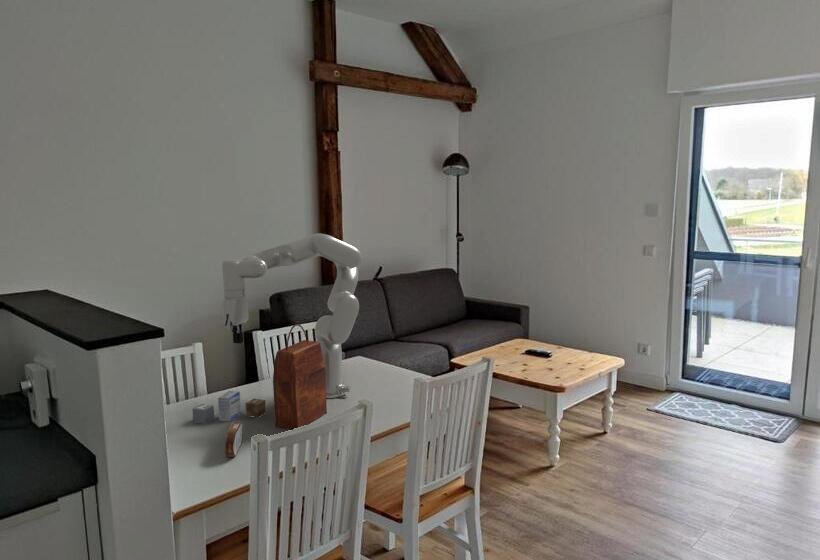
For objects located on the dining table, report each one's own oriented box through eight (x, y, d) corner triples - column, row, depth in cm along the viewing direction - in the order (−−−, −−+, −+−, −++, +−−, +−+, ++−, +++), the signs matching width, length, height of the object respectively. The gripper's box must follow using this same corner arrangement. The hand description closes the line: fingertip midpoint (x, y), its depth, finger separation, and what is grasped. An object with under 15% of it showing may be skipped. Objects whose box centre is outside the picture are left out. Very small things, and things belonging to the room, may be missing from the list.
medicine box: (230, 422, 206) (229, 398, 205) (218, 421, 207) (217, 397, 206) (241, 413, 214) (240, 391, 213) (230, 413, 215) (228, 390, 214)
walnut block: (265, 413, 215) (265, 399, 214) (257, 418, 210) (257, 404, 210) (254, 411, 217) (253, 397, 216) (246, 416, 212) (245, 402, 211)
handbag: (272, 427, 202) (267, 328, 197) (305, 407, 220) (301, 316, 214) (297, 432, 198) (292, 331, 192) (329, 412, 215) (325, 319, 210)
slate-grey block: (214, 419, 209) (213, 405, 209) (204, 424, 205) (204, 409, 204) (202, 417, 211) (201, 403, 210) (193, 422, 206) (192, 408, 206)
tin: (235, 441, 190) (233, 416, 189) (245, 441, 190) (243, 416, 189) (224, 462, 175) (223, 435, 174) (235, 461, 176) (234, 434, 174)
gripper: (238, 289, 221) (241, 337, 224) (213, 296, 207) (217, 347, 210) (255, 290, 218) (258, 338, 221) (231, 297, 204) (235, 348, 207)
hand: (238, 342), depth 215 cm, fingers closed
